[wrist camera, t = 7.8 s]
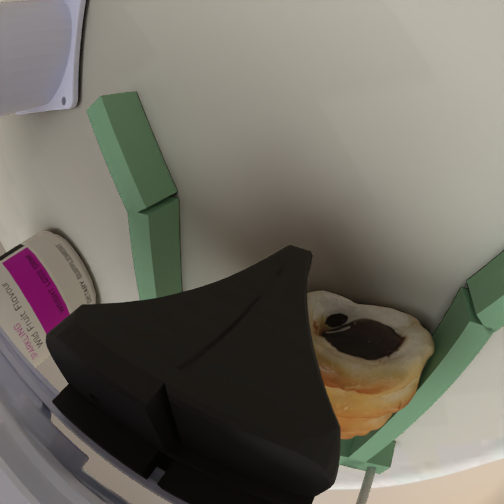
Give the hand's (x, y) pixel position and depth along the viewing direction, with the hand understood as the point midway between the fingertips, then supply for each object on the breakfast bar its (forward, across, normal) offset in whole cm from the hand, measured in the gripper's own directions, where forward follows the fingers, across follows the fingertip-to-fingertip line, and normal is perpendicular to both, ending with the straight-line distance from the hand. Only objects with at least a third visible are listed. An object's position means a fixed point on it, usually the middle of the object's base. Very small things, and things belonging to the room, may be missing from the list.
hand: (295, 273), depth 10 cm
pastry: (+2, -3, +5) cm, 6 cm away
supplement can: (+2, +18, +8) cm, 20 cm away
